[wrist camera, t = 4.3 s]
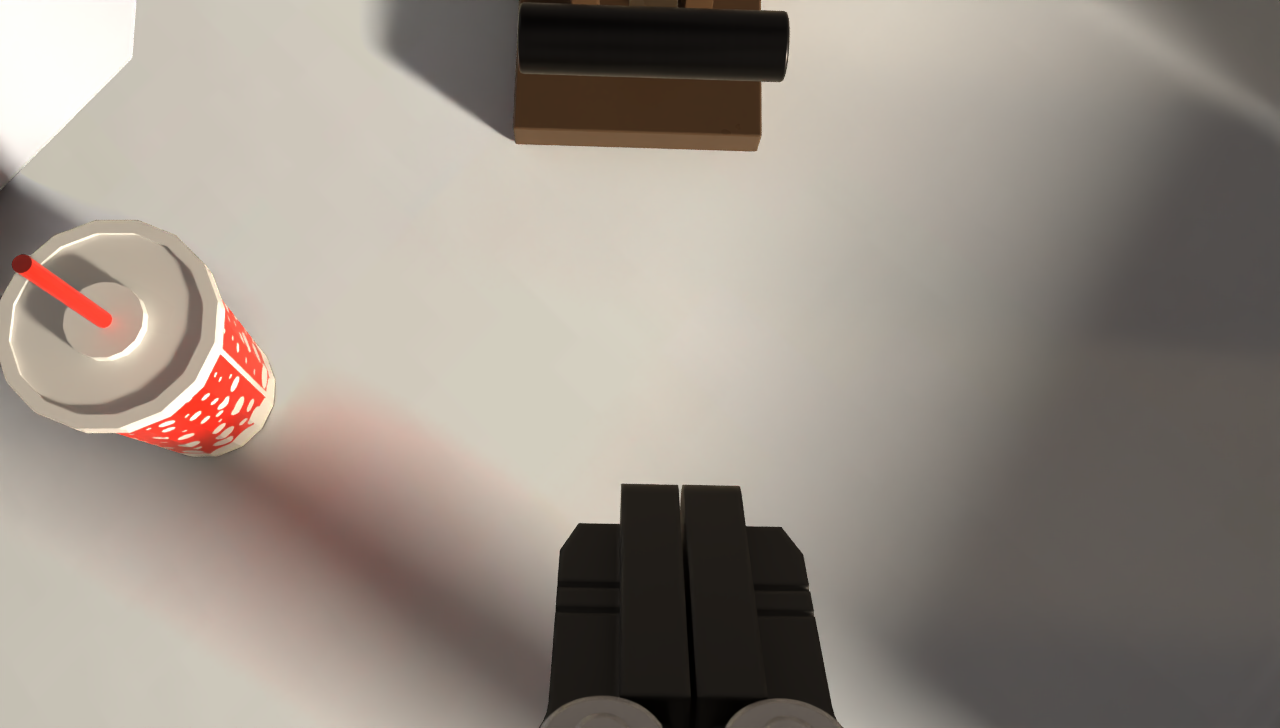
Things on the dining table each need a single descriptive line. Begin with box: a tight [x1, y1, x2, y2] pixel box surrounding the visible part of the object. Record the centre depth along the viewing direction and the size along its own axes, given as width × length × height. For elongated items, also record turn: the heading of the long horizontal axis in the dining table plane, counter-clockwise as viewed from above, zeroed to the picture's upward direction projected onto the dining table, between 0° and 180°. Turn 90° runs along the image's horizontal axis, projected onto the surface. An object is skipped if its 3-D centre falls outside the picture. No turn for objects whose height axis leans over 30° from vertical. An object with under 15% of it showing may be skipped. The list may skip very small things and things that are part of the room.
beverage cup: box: [0, 220, 275, 457], centre depth 35 cm, size 6×6×14 cm
